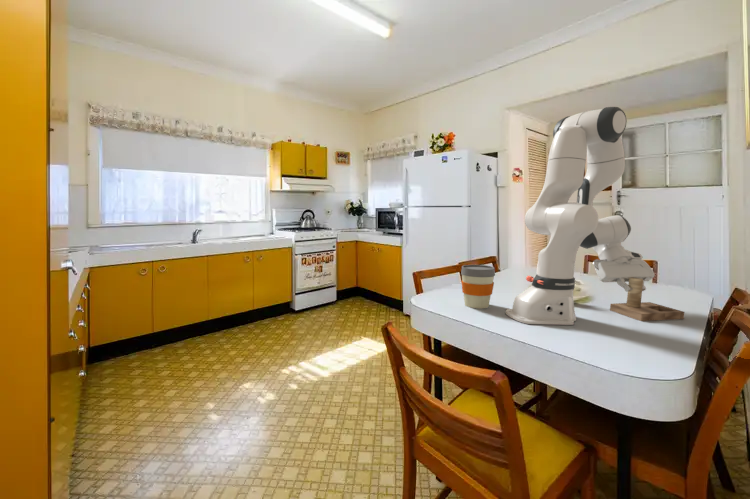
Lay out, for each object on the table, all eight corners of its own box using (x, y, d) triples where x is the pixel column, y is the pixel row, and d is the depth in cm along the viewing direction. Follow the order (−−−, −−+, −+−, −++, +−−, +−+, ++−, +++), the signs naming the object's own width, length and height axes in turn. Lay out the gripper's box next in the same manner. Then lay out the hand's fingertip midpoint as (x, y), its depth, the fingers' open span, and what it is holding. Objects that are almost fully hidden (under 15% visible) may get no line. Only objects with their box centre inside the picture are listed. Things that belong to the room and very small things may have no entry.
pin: (634, 308, 118) (636, 280, 117) (623, 304, 122) (626, 277, 121) (643, 307, 119) (646, 279, 118) (632, 304, 123) (635, 277, 122)
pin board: (640, 321, 112) (641, 313, 112) (610, 310, 124) (610, 303, 124) (683, 319, 114) (684, 311, 114) (649, 308, 126) (649, 302, 126)
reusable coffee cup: (458, 300, 138) (459, 264, 136) (490, 301, 136) (492, 265, 134) (461, 309, 126) (462, 269, 124) (496, 310, 124) (498, 270, 122)
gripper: (595, 254, 124) (616, 286, 116) (644, 254, 127) (667, 284, 118) (585, 264, 129) (604, 296, 121) (633, 263, 132) (654, 294, 123)
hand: (636, 290), depth 119 cm, fingers closed on pin, 4 cm apart
